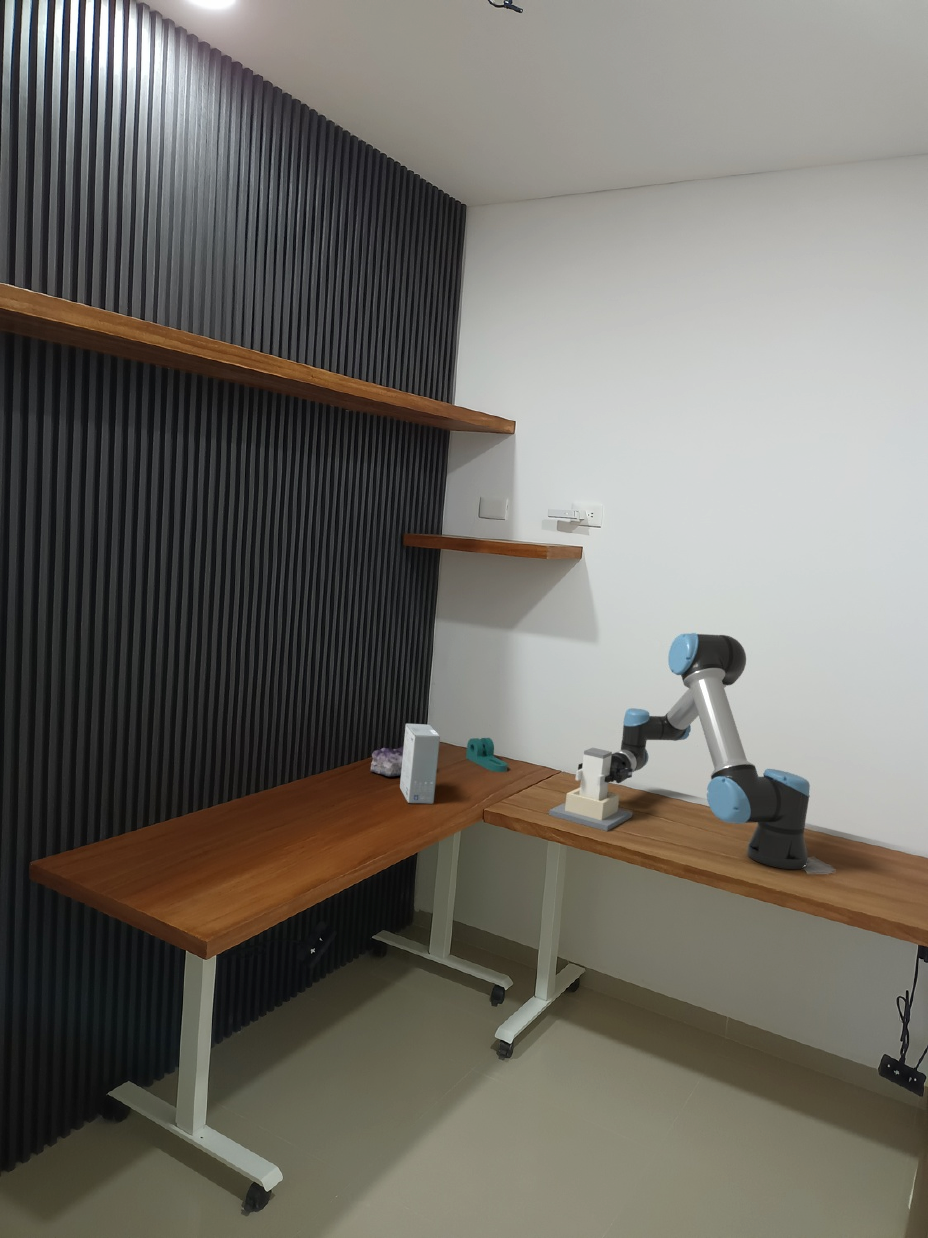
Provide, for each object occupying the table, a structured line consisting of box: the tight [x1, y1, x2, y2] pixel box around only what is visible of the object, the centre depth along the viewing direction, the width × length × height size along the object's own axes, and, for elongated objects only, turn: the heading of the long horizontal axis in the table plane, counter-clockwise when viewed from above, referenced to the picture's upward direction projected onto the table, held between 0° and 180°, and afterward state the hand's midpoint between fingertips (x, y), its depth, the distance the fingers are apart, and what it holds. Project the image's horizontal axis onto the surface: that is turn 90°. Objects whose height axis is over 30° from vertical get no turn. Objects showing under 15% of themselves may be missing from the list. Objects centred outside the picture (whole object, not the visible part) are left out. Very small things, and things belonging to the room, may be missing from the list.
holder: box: [548, 787, 633, 832], centre depth 259 cm, size 18×18×6 cm
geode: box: [370, 746, 404, 777], centre depth 285 cm, size 20×12×10 cm, turn 124°
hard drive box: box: [399, 723, 441, 805], centre depth 262 cm, size 16×8×20 cm, turn 14°
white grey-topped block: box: [579, 747, 613, 801], centre depth 258 cm, size 6×6×16 cm
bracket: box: [465, 737, 509, 773], centre depth 306 cm, size 18×7×8 cm, turn 31°
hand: (587, 778), depth 254 cm, fingers closed on white grey-topped block, 6 cm apart
